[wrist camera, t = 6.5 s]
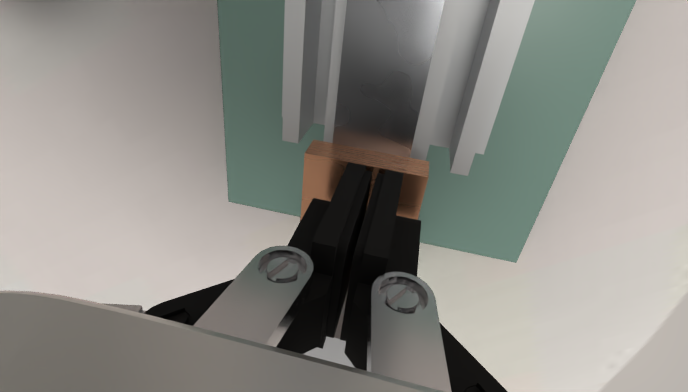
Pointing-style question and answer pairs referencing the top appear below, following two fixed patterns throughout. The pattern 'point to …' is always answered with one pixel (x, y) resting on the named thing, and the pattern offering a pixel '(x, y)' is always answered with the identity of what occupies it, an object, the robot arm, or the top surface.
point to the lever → (378, 99)
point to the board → (421, 109)
